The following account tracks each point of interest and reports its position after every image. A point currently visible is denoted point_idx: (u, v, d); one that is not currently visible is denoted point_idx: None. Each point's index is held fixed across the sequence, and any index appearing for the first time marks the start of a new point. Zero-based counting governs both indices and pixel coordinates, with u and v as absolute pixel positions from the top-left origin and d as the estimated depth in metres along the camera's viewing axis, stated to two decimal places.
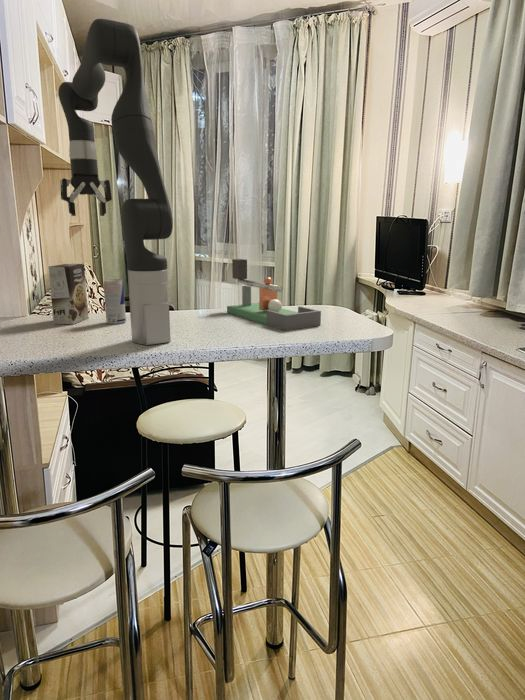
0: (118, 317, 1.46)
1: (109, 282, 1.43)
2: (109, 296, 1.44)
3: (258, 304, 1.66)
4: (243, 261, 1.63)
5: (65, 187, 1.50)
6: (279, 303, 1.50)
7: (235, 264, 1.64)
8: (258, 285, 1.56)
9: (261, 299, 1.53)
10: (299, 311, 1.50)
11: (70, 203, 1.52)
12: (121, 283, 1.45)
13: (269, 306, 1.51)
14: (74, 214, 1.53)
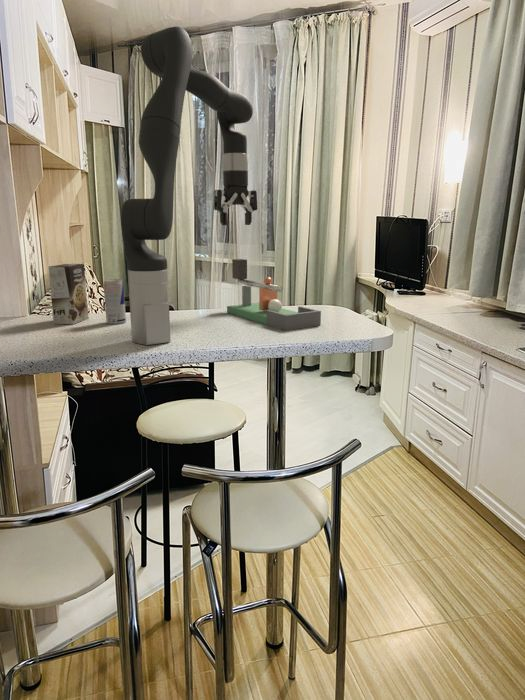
0: (118, 317, 1.46)
1: (109, 282, 1.43)
2: (109, 296, 1.44)
3: (258, 304, 1.66)
4: (243, 261, 1.63)
5: (220, 198, 1.55)
6: (279, 303, 1.50)
7: (235, 264, 1.64)
8: (258, 285, 1.56)
9: (261, 299, 1.53)
10: (299, 311, 1.50)
11: (223, 213, 1.58)
12: (121, 283, 1.45)
13: (269, 306, 1.51)
14: (226, 224, 1.59)
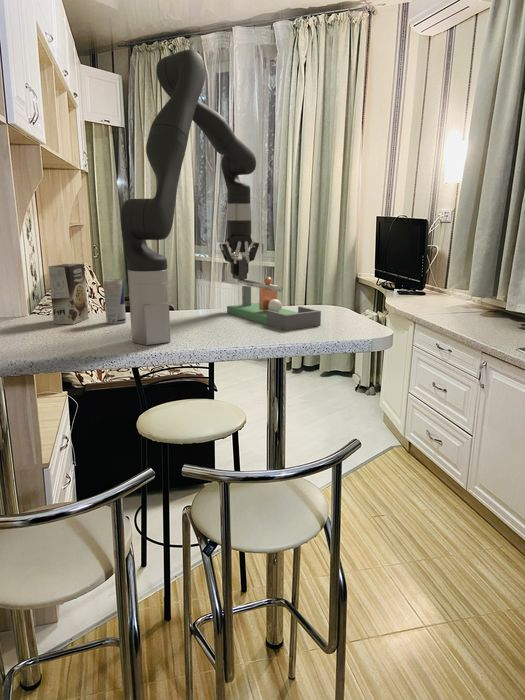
0: (118, 317, 1.46)
1: (109, 282, 1.43)
2: (109, 296, 1.44)
3: (258, 304, 1.66)
4: (243, 261, 1.63)
5: (227, 251, 1.60)
6: (279, 303, 1.50)
7: None
8: (258, 285, 1.56)
9: (261, 299, 1.53)
10: (299, 311, 1.50)
11: (233, 264, 1.63)
12: (121, 283, 1.45)
13: (269, 306, 1.51)
14: (236, 274, 1.64)
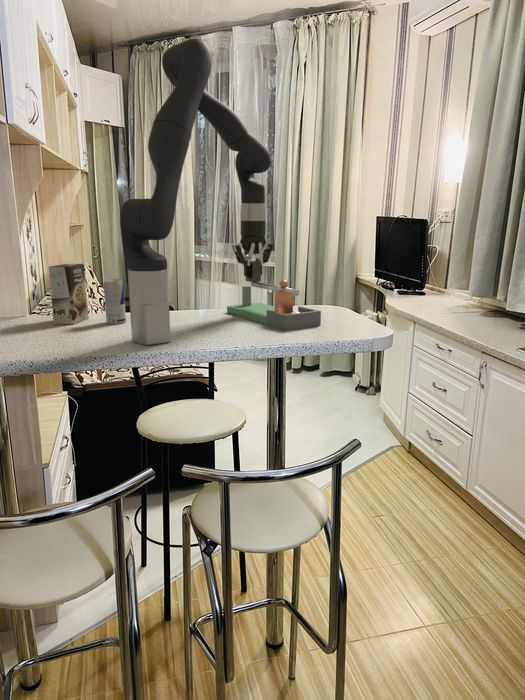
0: (118, 317, 1.46)
1: (109, 282, 1.43)
2: (109, 296, 1.44)
3: (258, 304, 1.66)
4: (257, 263, 1.57)
5: (240, 252, 1.54)
6: (296, 311, 1.44)
7: None
8: (273, 288, 1.50)
9: (277, 303, 1.46)
10: (299, 311, 1.50)
11: (247, 266, 1.56)
12: (121, 283, 1.45)
13: None
14: (250, 277, 1.57)
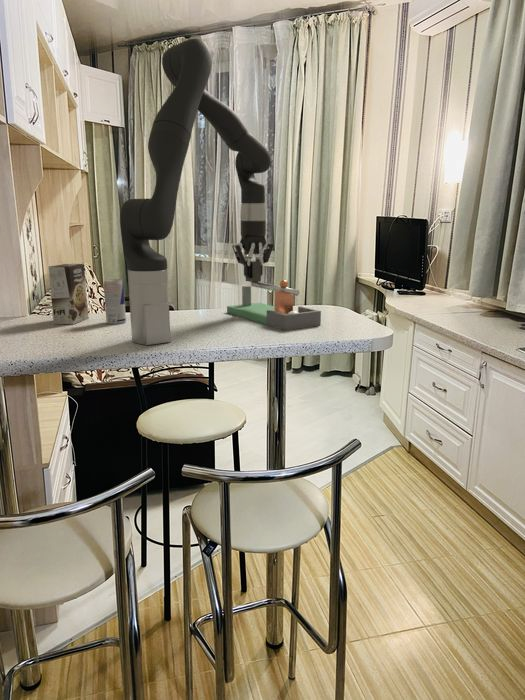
0: (118, 317, 1.46)
1: (109, 282, 1.43)
2: (109, 296, 1.44)
3: (258, 304, 1.66)
4: (257, 263, 1.57)
5: (240, 252, 1.53)
6: None
7: None
8: (273, 288, 1.50)
9: (277, 303, 1.46)
10: (299, 311, 1.50)
11: (247, 266, 1.56)
12: (121, 283, 1.45)
13: None
14: (249, 277, 1.57)
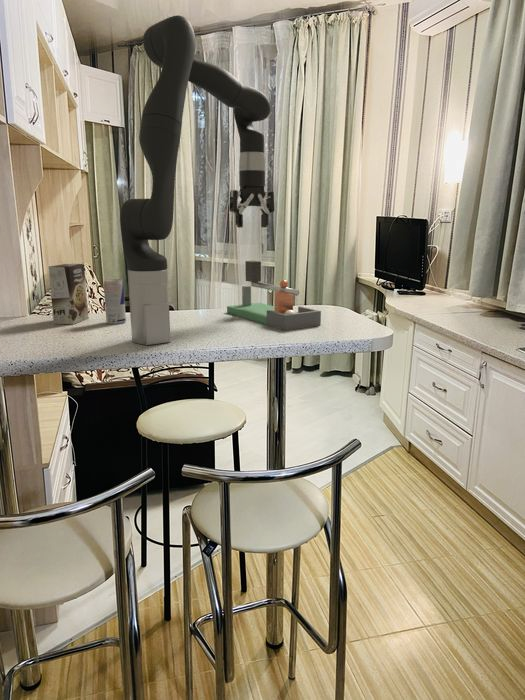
0: (118, 317, 1.46)
1: (109, 282, 1.43)
2: (109, 296, 1.44)
3: (258, 304, 1.66)
4: (257, 263, 1.57)
5: (236, 199, 1.49)
6: None
7: (249, 266, 1.57)
8: (273, 288, 1.50)
9: (277, 303, 1.46)
10: (299, 311, 1.50)
11: (238, 215, 1.51)
12: (121, 283, 1.45)
13: None
14: (241, 226, 1.52)
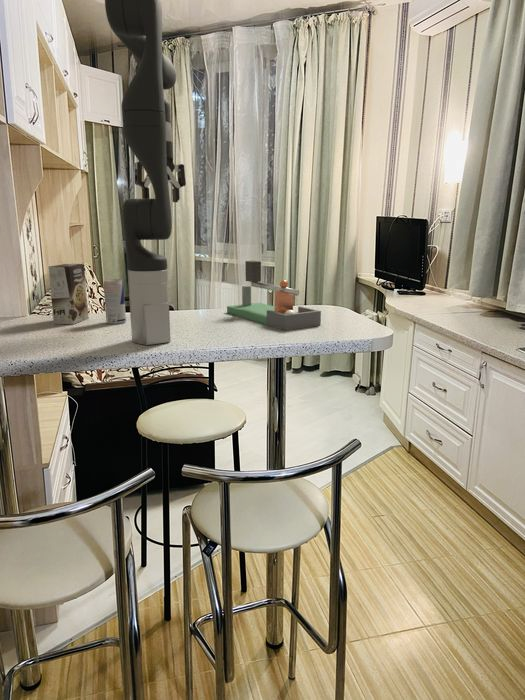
0: (118, 317, 1.46)
1: (109, 282, 1.43)
2: (109, 296, 1.44)
3: (258, 304, 1.66)
4: (257, 263, 1.57)
5: (140, 171, 1.41)
6: None
7: (249, 266, 1.57)
8: (273, 288, 1.50)
9: (277, 303, 1.46)
10: (299, 311, 1.50)
11: (144, 188, 1.43)
12: (121, 283, 1.45)
13: None
14: None
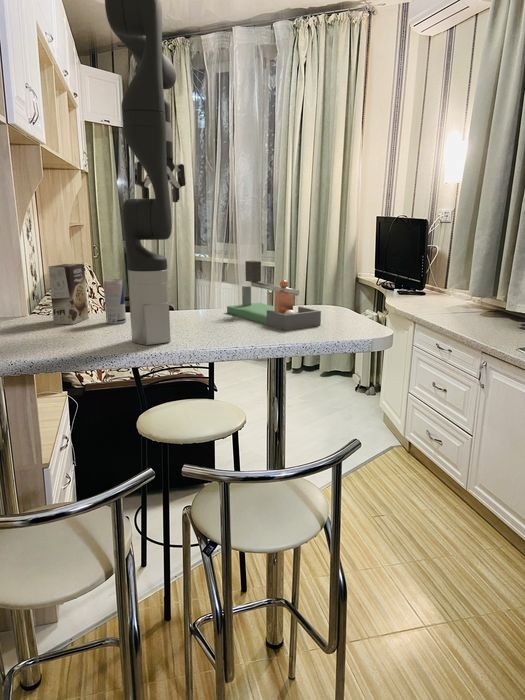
0: (118, 317, 1.46)
1: (109, 282, 1.43)
2: (109, 296, 1.44)
3: (258, 304, 1.66)
4: (257, 263, 1.57)
5: (140, 171, 1.41)
6: None
7: (249, 266, 1.57)
8: (273, 288, 1.50)
9: (277, 303, 1.46)
10: (299, 311, 1.50)
11: (144, 188, 1.43)
12: (121, 283, 1.45)
13: None
14: None
